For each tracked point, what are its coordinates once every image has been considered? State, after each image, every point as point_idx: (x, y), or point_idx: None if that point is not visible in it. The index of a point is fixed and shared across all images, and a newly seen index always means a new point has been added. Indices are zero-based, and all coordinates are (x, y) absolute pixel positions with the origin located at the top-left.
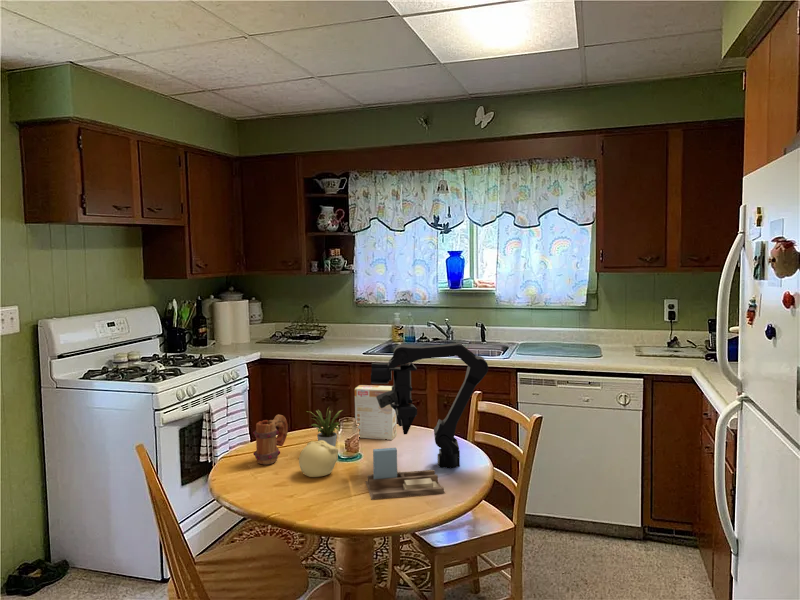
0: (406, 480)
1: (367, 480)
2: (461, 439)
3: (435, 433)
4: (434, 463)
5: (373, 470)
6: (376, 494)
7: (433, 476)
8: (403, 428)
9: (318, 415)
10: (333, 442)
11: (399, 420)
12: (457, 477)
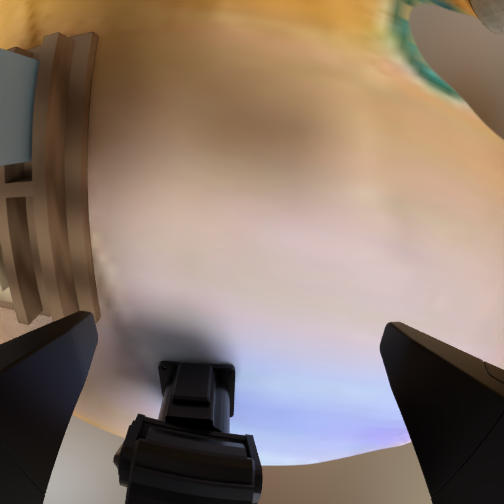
0: None
1: (69, 39)
2: None
3: (132, 475)
4: (262, 359)
5: (17, 55)
6: None
7: (14, 307)
8: (28, 338)
9: None
10: (500, 7)
11: (413, 365)
12: (113, 382)
